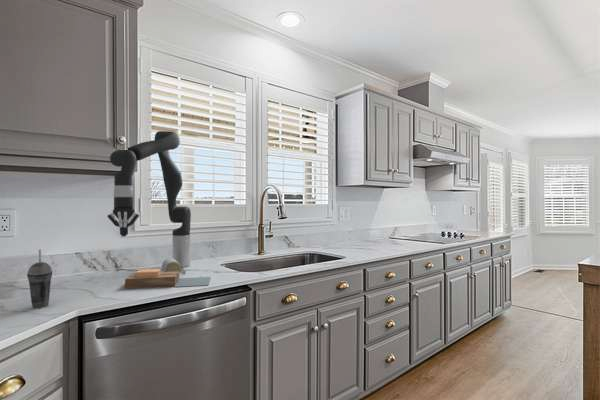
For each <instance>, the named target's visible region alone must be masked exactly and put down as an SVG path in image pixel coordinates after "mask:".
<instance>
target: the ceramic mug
mask: <svg viewBox="0 0 600 400" xmlns="http://www.w3.org/2000/svg"><path fill="white" fill-rule="evenodd" d="M161 270H162V272H171V271H179V274H186V272H187V270H186V269H185V268H183V267H181V266H180V264H179V263H178V262H177V261H176V260H175V259H173V257H167V258H166V259H165V260H163V262H162V264H161Z"/></svg>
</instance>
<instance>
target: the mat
mask: <svg viewBox="0 0 600 400" xmlns="http://www.w3.org/2000/svg"><path fill="white" fill-rule="evenodd" d="M210 282H211V276H199V277H182V278H181V277H179V280H178V282H177V283H176V285H175V286H173V287H174V288H186V287H187V288H189V287H204V286H205V287H207V286H209V284H210Z"/></svg>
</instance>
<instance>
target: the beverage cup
mask: <svg viewBox="0 0 600 400" xmlns="http://www.w3.org/2000/svg"><path fill="white" fill-rule="evenodd" d="M41 254H42V250H41V249H38V262H35V263H34V264H32V265H31V266H30V267H29V268H28V270H27V275H26V276H27V280H28V285H29V292H30V293H29V294H30V302H31V306H32V307H33V308H38V309H43V308H42V307H44V308H47V307H49V304H50V303H49V302H50V294H51V284H52V283H51V282H52V277H53V269H52V267H51V265H50V264H48V263H47V262H44V261H43V262H42V255H41ZM46 306H47V307H46ZM32 307H31V308H32ZM33 308H32V309H33Z"/></svg>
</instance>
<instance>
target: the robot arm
mask: <svg viewBox="0 0 600 400" xmlns="http://www.w3.org/2000/svg"><path fill="white" fill-rule="evenodd" d="M180 143H181V138H180V136H179V134H178V133H177V132H174V131H168V130H167V131H166V130H158V131H157V132H156V133H155V135H154V140H149V141H143V142H140V143H137V145H136V144H134V145H131V146H129V147H127V148H128V150H120V149H116V150H114V151H112V153H111V154H110V156H109V162H110V163H111V164H112V165H113V166H115V167H119V168H120V171H117V172H115V173H114V177H113V178H114V181H113V182H114V186H113V187H114V188H113V209H112V212H111V213H110V214H108V215H107V218H108V219H109V220H110V221H111V223H112V224H113V225H114V226H115V227H118V228H119V235H121V237H127V235H128V234H129V227H131V226H133V225H134V224H135V222H136V221H137V220H138V218H139V217H140V213H139V214H138V213H137V212H135V209H134V189H133V188H134V187H133V175H134V173H135V170H136V169H135V168H136V165H137V162H138V161H139V162H140V161H141V160H144V159H146V158H149V157H151V156H153V155H156V154H158V155H157V156H158V159H159V163H160V167H161V173H162V178H163V184H164V189H165V192H166V193H165V194H166V199H167V208H168V217H169V220H170V222H171V223H173V224H181V226H180V227H178V228H176V229H173V230H172V258H173V259H175V260H176V261H177V262H178V263H179V264H180V266H181V268H185V267H189V266H190V265H191V219H192V216H191V215H192V213H191V208H190V207H189V206H186V205H185V206H180V205H179V206H178V205H177V198H178V195H179V193H180V191H181V189H182V187H183V179H182V172H181V170H180V168H179V167H178V165H177V164H176V163H175V162H174V160H173V159H172V157H171V155H170V150H171V151H172V150H176V149H177V148H178V147H179V146H180ZM115 217H116V218H115ZM131 217H132V218H131ZM130 219H131V220H130Z"/></svg>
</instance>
